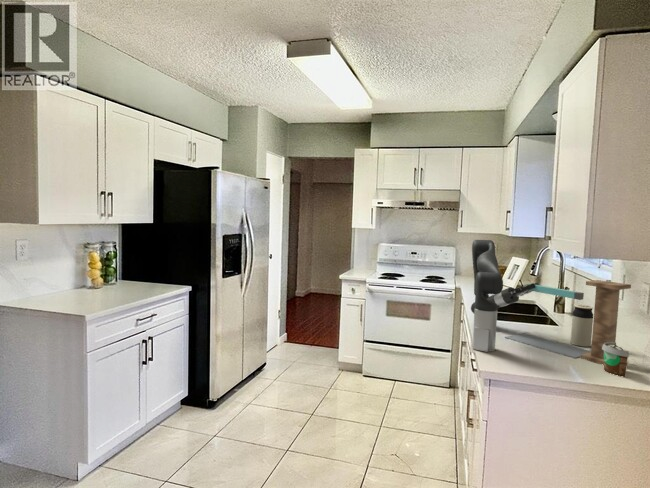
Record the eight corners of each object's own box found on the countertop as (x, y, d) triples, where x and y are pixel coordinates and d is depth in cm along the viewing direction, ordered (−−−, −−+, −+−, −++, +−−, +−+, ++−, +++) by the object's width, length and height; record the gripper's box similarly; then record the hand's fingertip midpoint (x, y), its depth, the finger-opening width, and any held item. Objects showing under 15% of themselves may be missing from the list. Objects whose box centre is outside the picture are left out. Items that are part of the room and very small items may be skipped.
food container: (595, 364, 160) (597, 340, 159) (613, 367, 158) (615, 341, 158) (607, 376, 148) (609, 349, 148) (626, 378, 146) (629, 351, 146)
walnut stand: (625, 363, 163) (631, 284, 161) (612, 367, 157) (618, 286, 155) (592, 354, 173) (598, 280, 171) (579, 358, 167) (585, 281, 165)
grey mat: (594, 352, 175) (594, 352, 175) (575, 358, 167) (575, 357, 167) (524, 333, 202) (524, 332, 202) (504, 337, 194) (504, 336, 194)
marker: (583, 299, 173) (583, 292, 172) (579, 299, 171) (580, 293, 171) (529, 289, 193) (529, 283, 193) (526, 289, 191) (526, 284, 191)
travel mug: (595, 347, 184) (598, 308, 182) (579, 347, 182) (582, 308, 181) (581, 341, 191) (584, 304, 190) (566, 342, 190) (569, 304, 189)
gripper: (517, 303, 204) (548, 291, 191) (500, 305, 197) (531, 293, 183) (511, 289, 207) (541, 276, 194) (494, 291, 199) (524, 278, 186)
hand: (536, 285), depth 189 cm, fingers closed on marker, 2 cm apart
